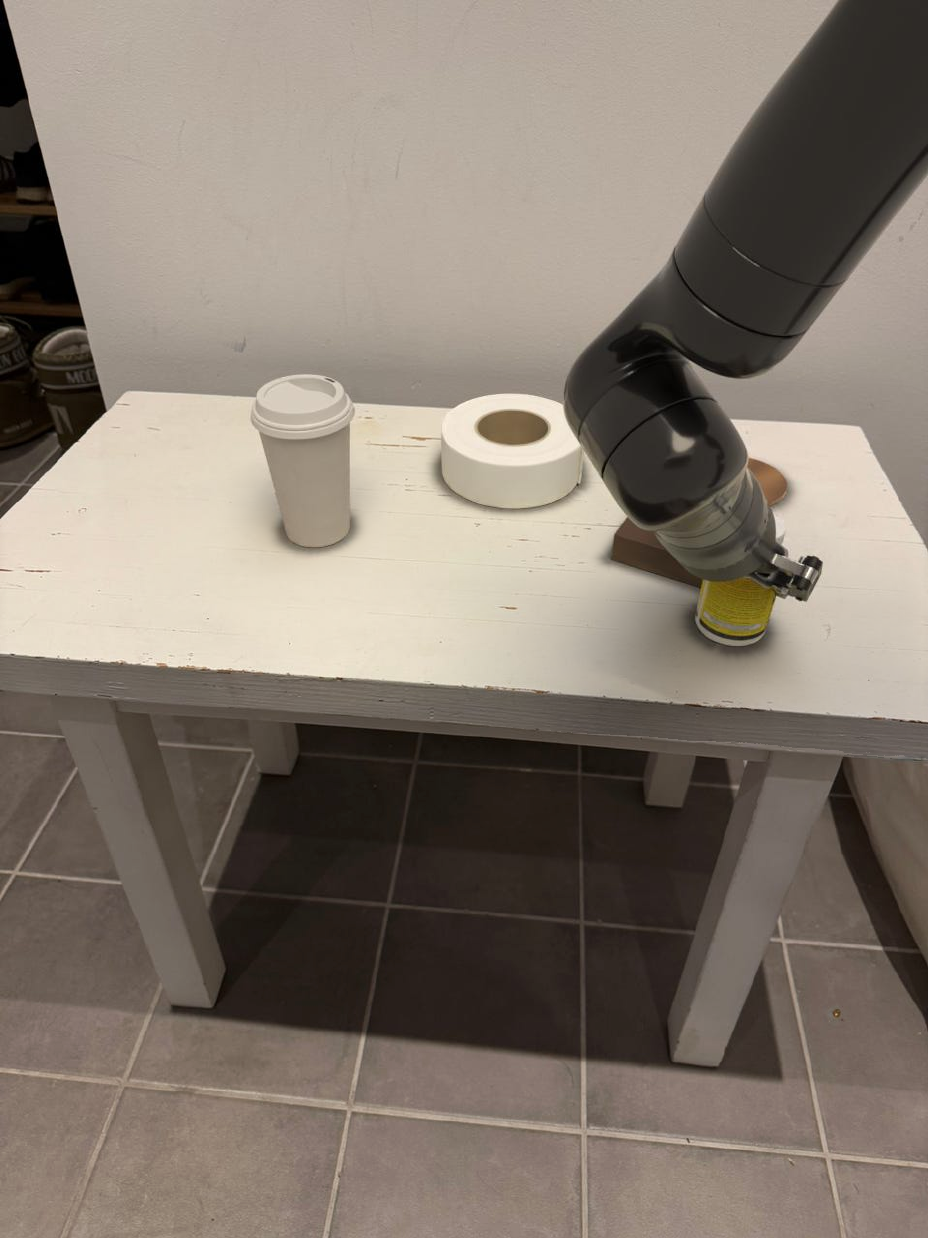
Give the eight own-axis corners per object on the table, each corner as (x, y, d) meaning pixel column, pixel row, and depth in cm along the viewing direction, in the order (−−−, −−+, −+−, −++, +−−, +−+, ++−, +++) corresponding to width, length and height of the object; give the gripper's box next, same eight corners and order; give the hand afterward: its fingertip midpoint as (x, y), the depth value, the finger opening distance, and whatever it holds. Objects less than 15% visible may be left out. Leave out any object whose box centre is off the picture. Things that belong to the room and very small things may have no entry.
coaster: (795, 474, 97) (797, 469, 96) (772, 518, 90) (774, 513, 90) (708, 452, 100) (709, 447, 100) (680, 492, 94) (681, 487, 94)
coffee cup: (378, 541, 87) (368, 404, 77) (287, 566, 84) (264, 426, 74) (345, 495, 93) (332, 362, 84) (259, 516, 90) (234, 382, 80)
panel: (760, 542, 87) (767, 516, 85) (731, 597, 80) (738, 570, 78) (646, 509, 91) (650, 484, 89) (610, 559, 85) (614, 532, 83)
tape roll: (573, 517, 90) (578, 470, 87) (426, 499, 93) (425, 453, 89) (588, 443, 102) (593, 400, 98) (457, 430, 104) (457, 386, 101)
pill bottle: (776, 646, 75) (809, 542, 68) (707, 652, 75) (734, 548, 67) (749, 601, 80) (778, 499, 73) (684, 606, 79) (707, 504, 72)
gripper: (837, 504, 57) (852, 564, 71) (645, 435, 64) (694, 503, 78) (784, 606, 57) (809, 645, 72) (599, 527, 64) (656, 577, 79)
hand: (749, 571), depth 75 cm, fingers closed on pill bottle, 6 cm apart
